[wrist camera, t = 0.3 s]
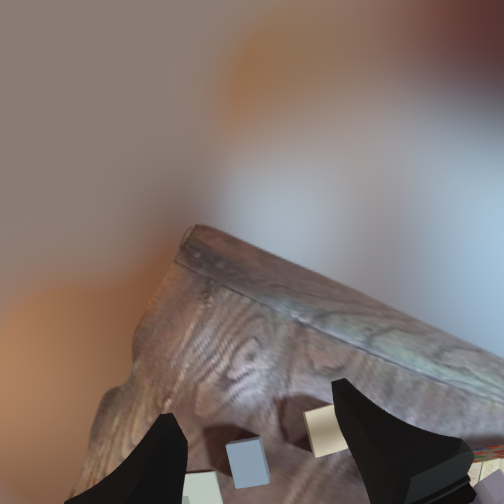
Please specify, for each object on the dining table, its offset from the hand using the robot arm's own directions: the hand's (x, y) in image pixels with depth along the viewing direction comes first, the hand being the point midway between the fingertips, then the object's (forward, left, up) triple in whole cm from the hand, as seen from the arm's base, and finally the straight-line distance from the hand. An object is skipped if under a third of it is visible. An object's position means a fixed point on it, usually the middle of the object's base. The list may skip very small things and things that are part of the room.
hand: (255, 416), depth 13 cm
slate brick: (-6, +4, -29) cm, 30 cm away
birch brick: (-4, -6, -29) cm, 30 cm away
